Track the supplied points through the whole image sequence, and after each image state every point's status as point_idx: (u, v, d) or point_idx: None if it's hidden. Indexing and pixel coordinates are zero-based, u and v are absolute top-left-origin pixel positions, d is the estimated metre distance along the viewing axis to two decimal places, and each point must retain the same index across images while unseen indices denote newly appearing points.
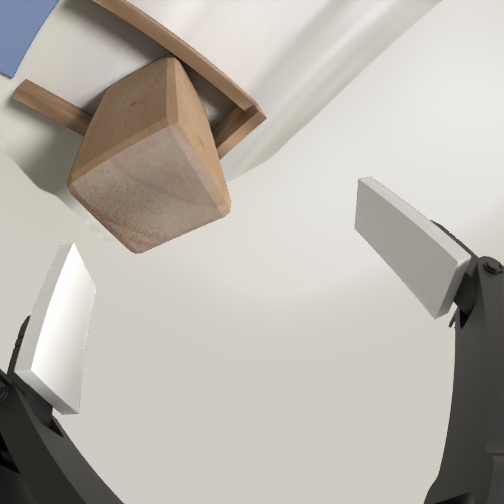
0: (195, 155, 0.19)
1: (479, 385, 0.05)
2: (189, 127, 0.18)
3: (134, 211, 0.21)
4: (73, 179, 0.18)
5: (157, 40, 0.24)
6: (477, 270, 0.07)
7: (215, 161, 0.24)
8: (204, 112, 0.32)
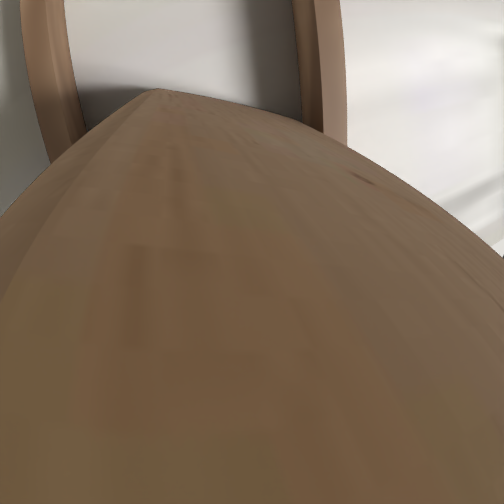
0: None
1: None
2: None
3: None
4: None
5: (324, 82, 0.13)
6: None
7: None
8: None
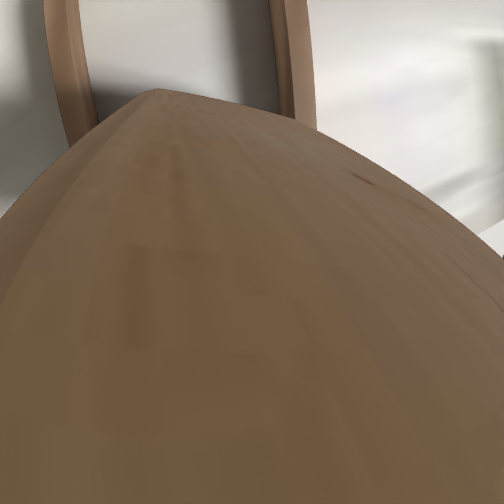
0: None
1: None
2: None
3: None
4: None
5: (296, 91, 0.17)
6: None
7: None
8: None
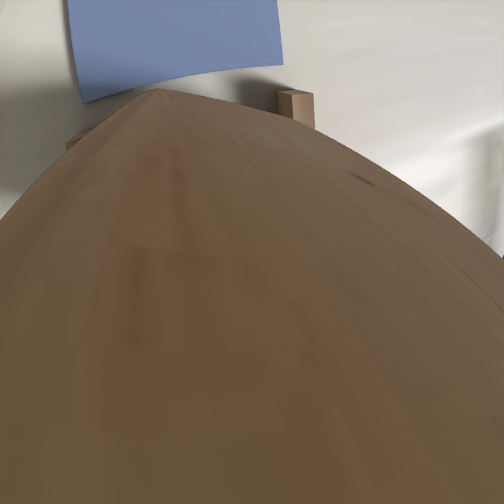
0: None
1: None
2: None
3: None
4: None
5: None
6: None
7: None
8: None
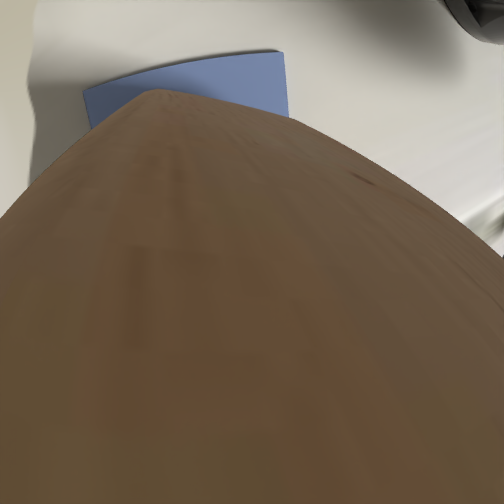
0: None
1: None
2: None
3: None
4: None
5: None
6: None
7: None
8: None
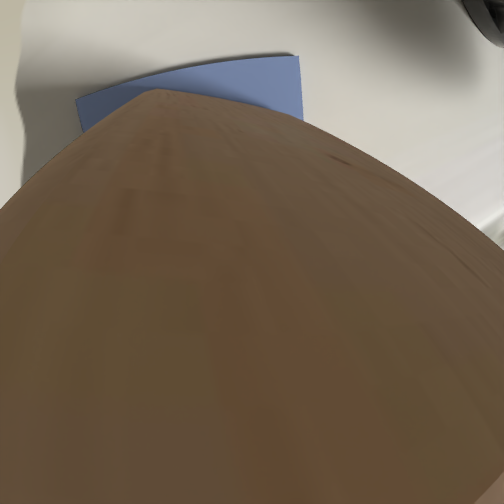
0: None
1: None
2: None
3: None
4: None
5: None
6: None
7: None
8: None
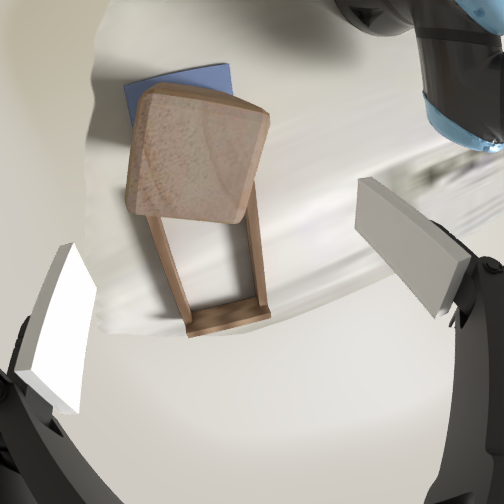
0: (260, 150, 0.22)
1: (479, 385, 0.05)
2: (268, 127, 0.22)
3: (175, 161, 0.20)
4: (155, 92, 0.18)
5: (253, 244, 0.48)
6: (477, 270, 0.07)
7: None
8: None
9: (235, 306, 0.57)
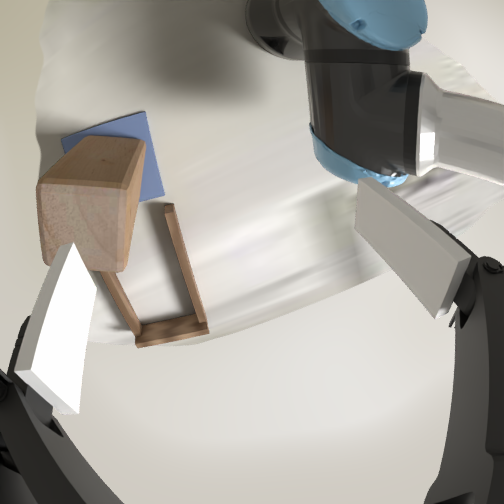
0: (124, 218, 0.26)
1: (479, 385, 0.05)
2: (130, 197, 0.26)
3: (65, 231, 0.25)
4: (44, 182, 0.22)
5: (182, 270, 0.52)
6: (477, 270, 0.07)
7: (130, 232, 0.31)
8: None
9: (178, 321, 0.62)
